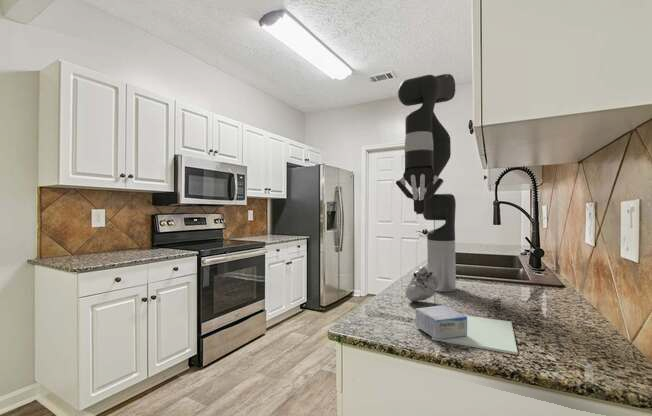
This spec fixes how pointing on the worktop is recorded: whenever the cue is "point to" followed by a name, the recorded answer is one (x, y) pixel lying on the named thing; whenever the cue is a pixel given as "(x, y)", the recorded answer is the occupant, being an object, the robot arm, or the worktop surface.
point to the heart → (422, 285)
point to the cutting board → (487, 335)
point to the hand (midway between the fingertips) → (419, 213)
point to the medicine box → (441, 322)
